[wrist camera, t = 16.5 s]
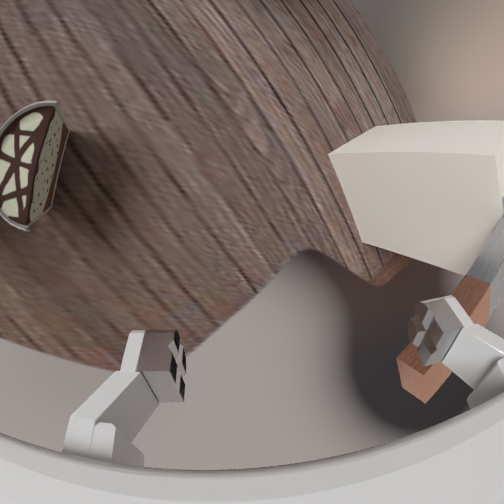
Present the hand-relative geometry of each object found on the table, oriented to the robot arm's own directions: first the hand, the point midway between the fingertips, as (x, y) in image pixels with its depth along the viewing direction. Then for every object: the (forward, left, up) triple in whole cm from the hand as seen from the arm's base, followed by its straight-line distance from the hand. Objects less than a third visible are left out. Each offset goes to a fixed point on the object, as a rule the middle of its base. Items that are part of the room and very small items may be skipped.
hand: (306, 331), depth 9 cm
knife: (-2, +19, -3) cm, 20 cm away
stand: (-13, +30, -29) cm, 43 cm away
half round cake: (-3, -18, -29) cm, 35 cm away
